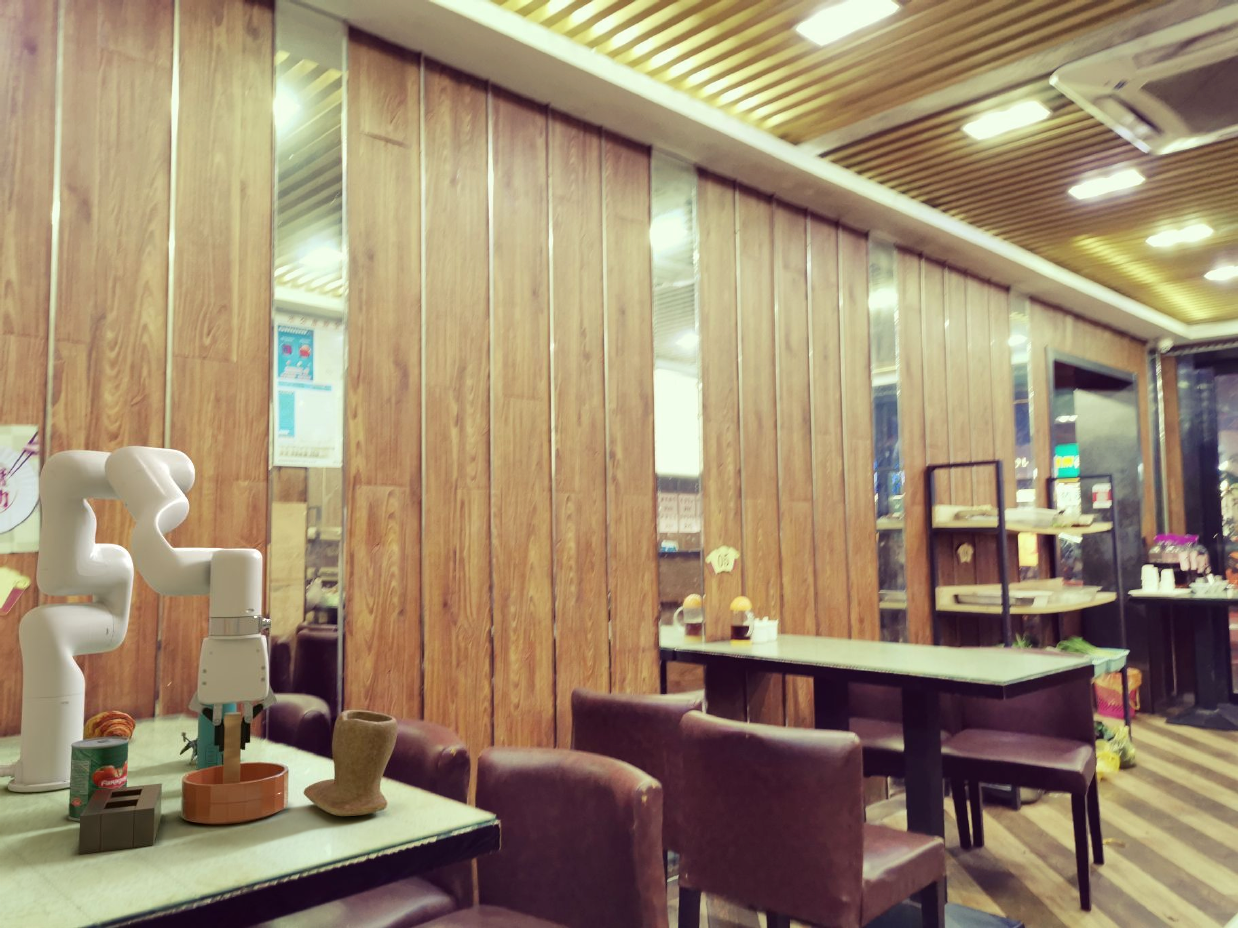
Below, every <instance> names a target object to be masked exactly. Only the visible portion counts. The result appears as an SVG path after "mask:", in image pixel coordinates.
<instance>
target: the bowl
mask: <svg viewBox="0 0 1238 928" xmlns="http://www.w3.org/2000/svg"><path fill="white" fill-rule="evenodd" d="M180 797H181V799H180V817H181V818H182V819H184V821H188V822H192V823H197V824H204V825H233V824H238V823H246V822H252V821H257V820H260V819H263V818H266V817H268V816H271V815H273V814H276V813H278V812H280V811H282V810H284V809H285V808H286V807H287V806H288V805H289V766H287V765H285V764H283V763H277V762H269V761H267V762H266V761H254V762H253V761H250V762H240V783H232V784H223V765H219V766H213V767H208V768H204V769H199V770H197V769H195V770H193V771H190V772H188V773H186V774H185V775H183V776H182V777H181V795H180Z"/></svg>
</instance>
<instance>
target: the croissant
mask: <svg viewBox="0 0 1238 928" xmlns="http://www.w3.org/2000/svg"><path fill="white" fill-rule="evenodd" d="M136 726H137V725H136V721H135V720H134V719H133V718H132V717H131V716H130V715H129V714H127V713H123V712H121V711H118V710H109V711H104V712H100V713H98V714H96V715H94V716H93V717H90V718H89V719H88V720H87V721H86V722H85V724H84V726H83V740H86V739H92V738H100V737H126V738H128V739H129V740H131V738H132V737H133V734H134V731H135V729H136Z"/></svg>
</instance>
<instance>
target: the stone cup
mask: <svg viewBox="0 0 1238 928" xmlns="http://www.w3.org/2000/svg"><path fill="white" fill-rule="evenodd" d="M398 726H399V725H398V721H397V719H396V718H395V717H394V716H391V715H389V714H385V713H381V712H375V711H371V710H364V709H363V710H362V709H346V710H343V711H342V712H340V713H339V714H338V715H337V717H336V720H335V722H334V728H333V734H332V742H331V753H332V759H333V770H334V771H333V772H334V774H333V775H334V777H333V778H330V779H325V780H319V781H317V782H314V783H312V784H310V785H309V786H307V787H305V788H304V789H303V795H304V796H305V797H306V798H307V799H308V800H309V801H310V802H311V803H312V804H314V805H315V806H317V807H318V808H319V809H321V810H323V811H325V812H326V813H328V814H331V815H333V816H336V817H337V816H339V817H354V816H364V815H368V814H372V813H373V814H374V813H378V812H380V811H384V810H385V809H386V808H387V807H388V800H387V799H386V798H385V795H383V793H382V791H381V782H382V779H383V775H384V773H385V771H386V767H387V765H388V763H389V761H390V759H391V756H392V755H393V751H394V748H395V746H396V742H397V736H398V728H399V727H398Z"/></svg>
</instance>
